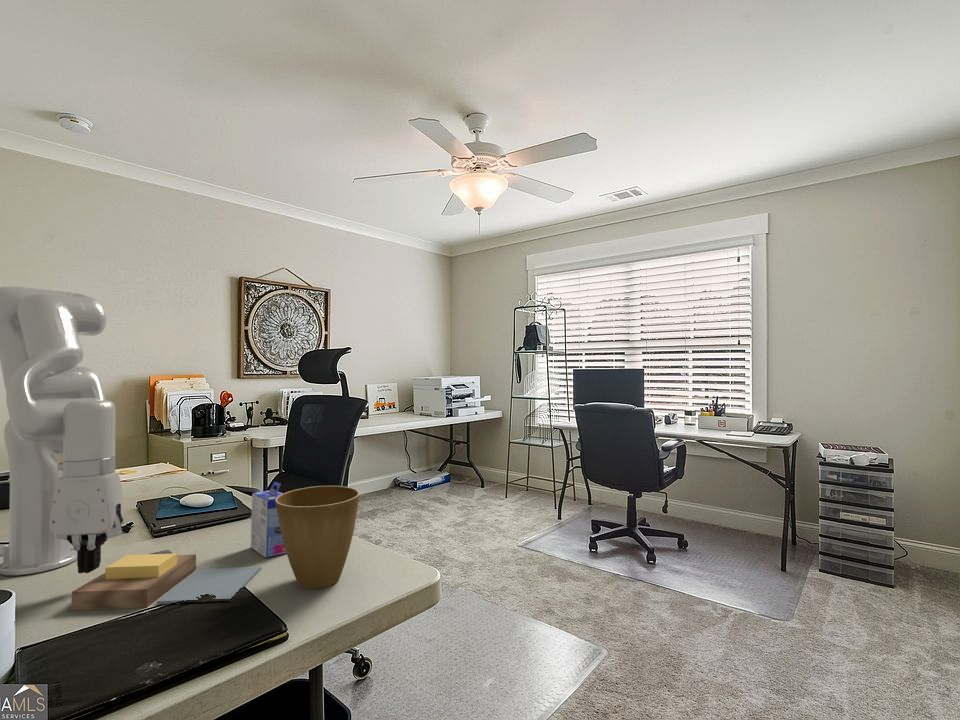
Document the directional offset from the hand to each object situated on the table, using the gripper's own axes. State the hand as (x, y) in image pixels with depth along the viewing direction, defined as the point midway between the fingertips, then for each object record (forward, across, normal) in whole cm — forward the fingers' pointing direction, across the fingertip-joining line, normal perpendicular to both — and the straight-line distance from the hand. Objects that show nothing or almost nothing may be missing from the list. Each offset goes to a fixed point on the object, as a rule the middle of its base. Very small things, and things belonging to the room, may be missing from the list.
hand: (89, 570), depth 90 cm
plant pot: (+4, +41, 0) cm, 41 cm away
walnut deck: (+4, +9, 0) cm, 10 cm away
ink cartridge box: (+4, +26, +18) cm, 32 cm away
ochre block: (+1, +9, 0) cm, 9 cm away
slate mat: (+4, +22, 0) cm, 22 cm away
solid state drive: (+4, +4, +14) cm, 15 cm away
